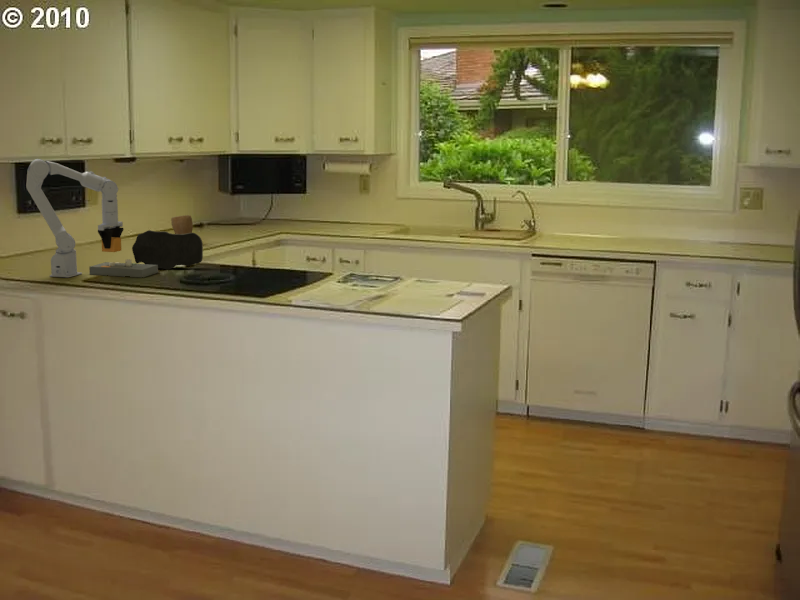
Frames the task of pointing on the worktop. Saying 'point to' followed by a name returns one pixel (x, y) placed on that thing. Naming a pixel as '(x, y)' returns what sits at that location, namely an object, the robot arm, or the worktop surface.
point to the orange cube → (113, 245)
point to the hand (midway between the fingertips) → (111, 247)
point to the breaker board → (123, 269)
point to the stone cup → (182, 224)
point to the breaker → (128, 263)
